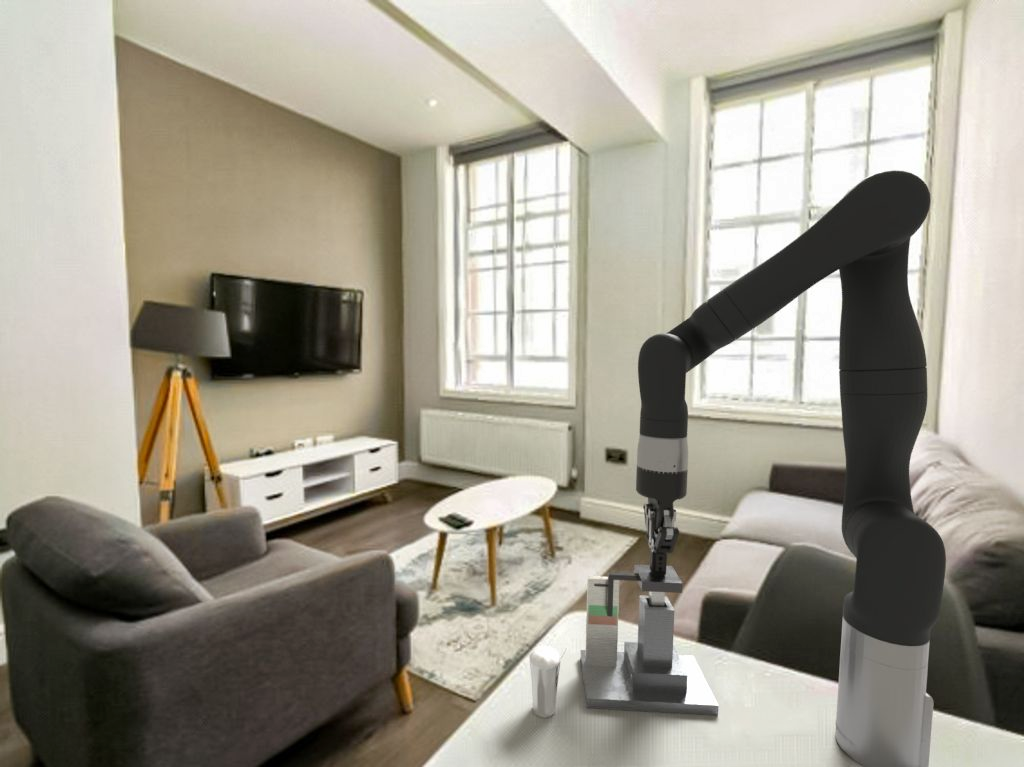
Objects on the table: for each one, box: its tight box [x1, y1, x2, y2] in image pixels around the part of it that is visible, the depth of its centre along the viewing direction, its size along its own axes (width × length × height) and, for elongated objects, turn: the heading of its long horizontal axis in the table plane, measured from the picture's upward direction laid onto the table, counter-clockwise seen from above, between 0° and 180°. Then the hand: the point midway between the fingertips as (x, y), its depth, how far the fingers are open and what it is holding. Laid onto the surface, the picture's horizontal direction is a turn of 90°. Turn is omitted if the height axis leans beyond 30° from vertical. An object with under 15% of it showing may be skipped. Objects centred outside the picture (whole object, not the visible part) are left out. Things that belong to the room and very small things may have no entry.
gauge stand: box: [580, 575, 719, 716], centre depth 79 cm, size 19×12×16 cm, turn 87°
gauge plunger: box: [607, 564, 683, 617], centre depth 79 cm, size 10×6×12 cm, turn 87°
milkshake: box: [529, 645, 567, 719], centre depth 73 cm, size 4×5×10 cm
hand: (657, 573), depth 79 cm, fingers closed
